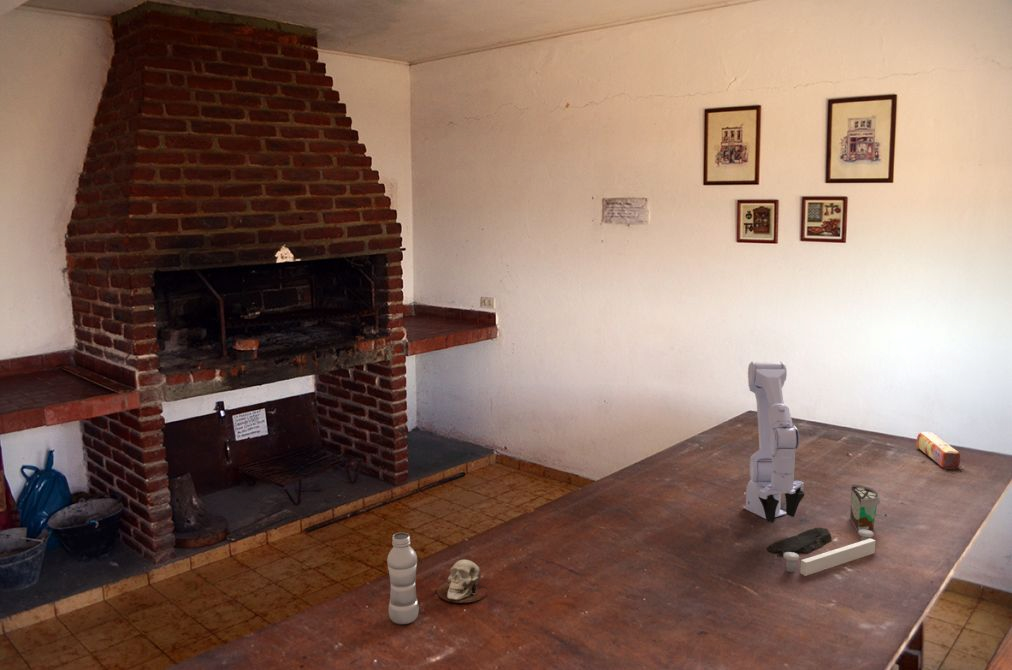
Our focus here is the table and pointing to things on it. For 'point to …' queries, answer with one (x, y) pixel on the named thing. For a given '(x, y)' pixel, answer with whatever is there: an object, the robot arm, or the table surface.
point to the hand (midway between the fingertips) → (780, 518)
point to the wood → (802, 542)
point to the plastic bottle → (402, 580)
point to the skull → (461, 583)
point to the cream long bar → (833, 555)
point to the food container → (863, 506)
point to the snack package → (938, 450)
